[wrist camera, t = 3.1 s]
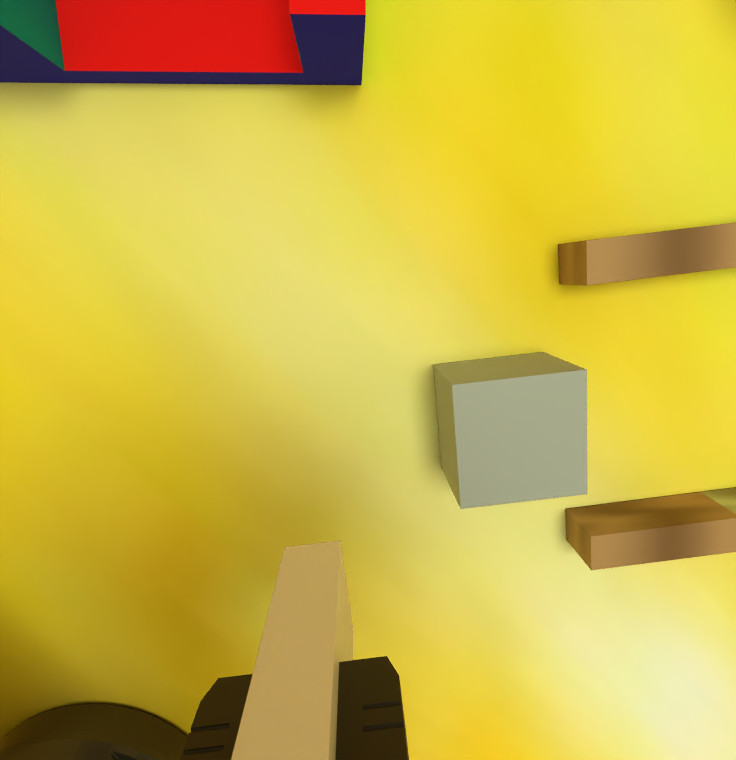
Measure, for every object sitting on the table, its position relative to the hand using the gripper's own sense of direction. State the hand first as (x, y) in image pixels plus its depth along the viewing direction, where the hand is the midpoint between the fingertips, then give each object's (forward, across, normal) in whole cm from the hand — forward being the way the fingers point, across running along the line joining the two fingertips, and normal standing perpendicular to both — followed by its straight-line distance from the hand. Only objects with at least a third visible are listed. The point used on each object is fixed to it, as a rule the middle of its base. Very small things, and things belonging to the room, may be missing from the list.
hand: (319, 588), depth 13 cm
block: (+14, +8, 0) cm, 16 cm away
